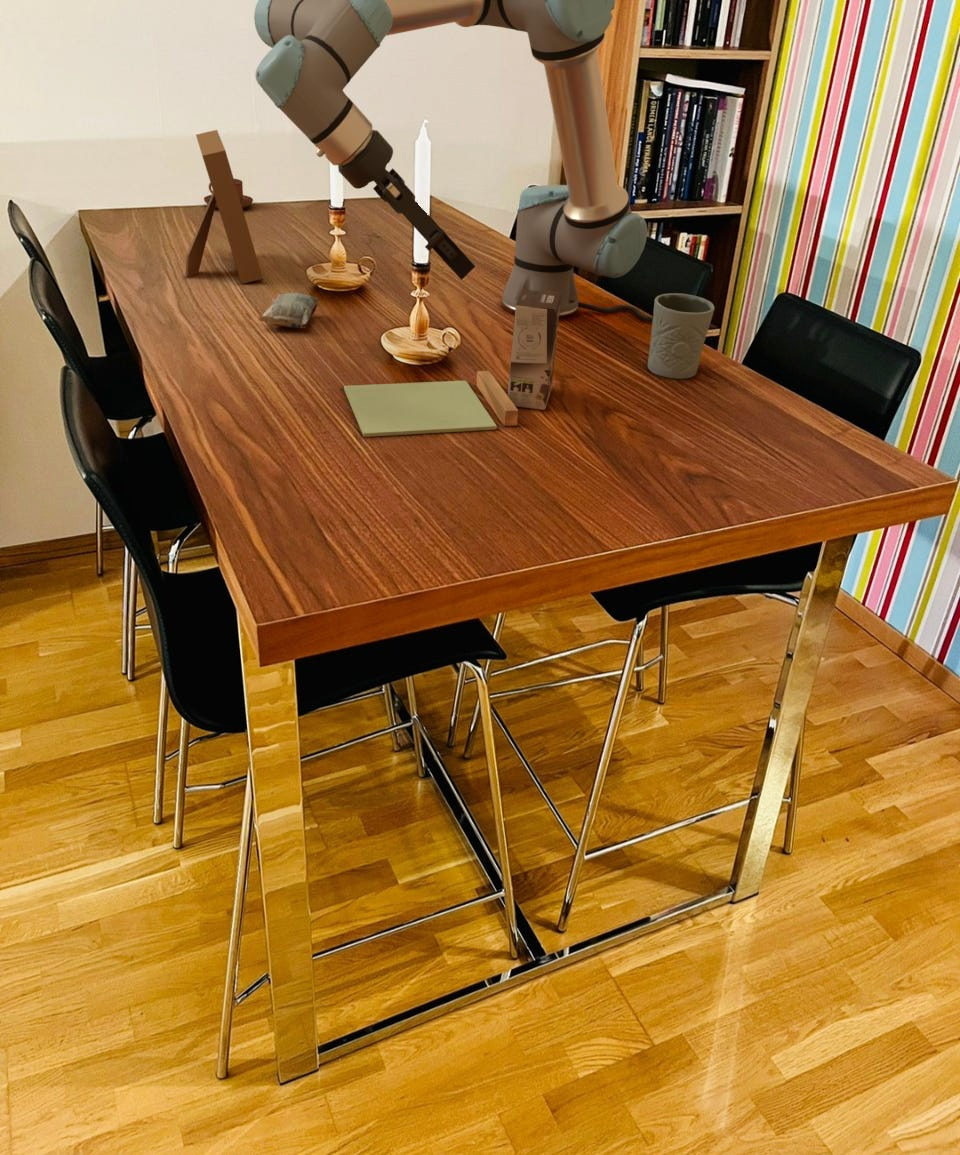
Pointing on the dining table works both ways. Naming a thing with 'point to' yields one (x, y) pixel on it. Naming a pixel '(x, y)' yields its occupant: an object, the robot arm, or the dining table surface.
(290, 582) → the dining table surface
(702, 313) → the grey embossed cup
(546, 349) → the coffee box
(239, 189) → the cup and saucer
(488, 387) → the rail
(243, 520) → the dining table surface
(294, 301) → the grey bean bag
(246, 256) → the photo frame
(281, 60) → the robot arm
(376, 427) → the mat
